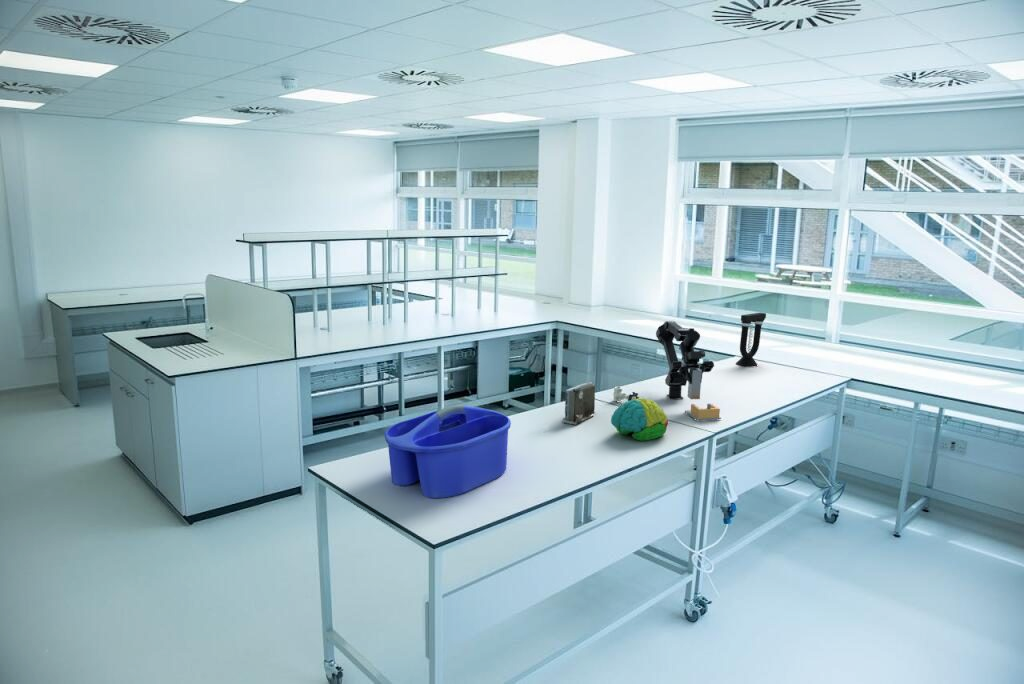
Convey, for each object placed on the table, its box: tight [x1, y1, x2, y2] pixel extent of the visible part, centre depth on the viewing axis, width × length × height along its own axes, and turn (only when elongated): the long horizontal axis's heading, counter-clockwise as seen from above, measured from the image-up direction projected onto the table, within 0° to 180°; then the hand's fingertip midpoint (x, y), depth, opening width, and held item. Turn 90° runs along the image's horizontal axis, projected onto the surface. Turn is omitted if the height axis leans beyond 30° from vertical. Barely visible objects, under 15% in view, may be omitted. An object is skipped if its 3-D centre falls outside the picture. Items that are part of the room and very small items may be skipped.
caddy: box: [384, 404, 512, 499], centre depth 212 cm, size 32×45×23 cm
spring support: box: [735, 312, 767, 367], centre depth 376 cm, size 21×12×30 cm, turn 130°
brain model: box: [610, 397, 669, 442], centre depth 252 cm, size 24×19×15 cm
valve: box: [612, 386, 640, 402], centre depth 297 cm, size 7×7×12 cm
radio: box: [561, 381, 596, 425], centre depth 274 cm, size 23×9×15 cm, turn 142°
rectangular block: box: [687, 368, 703, 400], centre depth 283 cm, size 4×4×13 cm
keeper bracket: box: [684, 403, 722, 421], centre depth 278 cm, size 12×11×7 cm
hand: (695, 383), depth 282 cm, fingers closed on rectangular block, 4 cm apart
